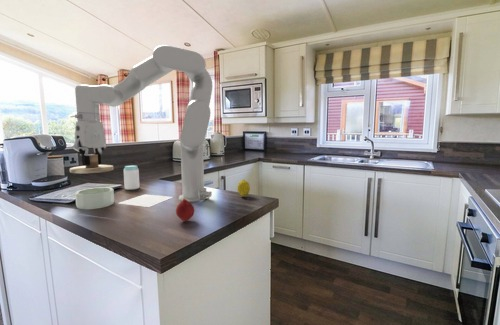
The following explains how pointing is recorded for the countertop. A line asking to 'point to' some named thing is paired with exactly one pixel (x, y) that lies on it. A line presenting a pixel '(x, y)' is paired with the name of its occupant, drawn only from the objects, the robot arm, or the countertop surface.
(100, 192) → the bowl
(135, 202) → the mat
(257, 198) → the countertop surface
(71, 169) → the lid
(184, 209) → the onion
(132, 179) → the can
